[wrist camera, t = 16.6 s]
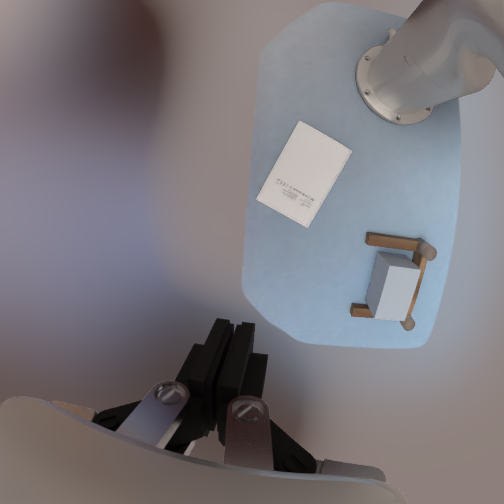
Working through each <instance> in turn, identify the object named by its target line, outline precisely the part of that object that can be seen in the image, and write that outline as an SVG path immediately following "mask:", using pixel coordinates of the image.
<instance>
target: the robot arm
mask: <svg viewBox="0 0 504 504" xmlns="http://www.w3.org/2000/svg"><path fill="white" fill-rule="evenodd" d="M388 34H389V40H388V41H387V42H386V43H385V44H384V45H379V46H375V47H373V48H371V49H369V50H368V51H366V52H365V53H364V54H363V56H362V57H361V58H360V60H359V62H358V64H357V68H356V82H357V87H358V89H359V92H360V94H361V96H362V98H363V100H364V101H365V103H366V104H367V105H368V106H369V108H370V109H371V110H373V111H374V112H375V113H376V114H377V115H379V116H380V117H381V118H383V119H385V120H387V121H389V122H391V123H395V124H398V125H412V124H416V123H419V122H421V121H423V120H424V119H426V118H427V117H428V116H429V115H430V114H431V112H432V110H433V108H434V106H435V105H437V104H440V103H443V102H446V101H449V100H452V99H455V98H459V97H462V96H465V95H468V94H472V93H475V92H478V91H480V90H482V89H483V88H484V87H486V86H487V85H488V84H489V82H490V81H491V79H492V78H493V75H494V73H495V70H496V68H497V69H498V71H499V72H500V73H501V74H502V76H503V77H504V0H423V1H422V2H421V3H420V5H419V6H418V7H417V8H416V10H415V11H414V12H413V13H412V14H411V16H410V17H409V18H408V19H407V21H406V22H405V23H404V24H403V25H402V26H401V28H400V29H399V30H398V31H397V30H396V29H394V28H389V29H388ZM365 59H367V60H368V61H367V60H365ZM365 92H366V93H367V95H366V94H365ZM426 109H427V110H426ZM396 117H397V118H398V120H397V119H396ZM254 332H255V324H254V323H247V322H242V325H237V327H236V329H235V332H234V324H231V323H230V321H229V320H226V319H219V318H217V319H216V321H215V323H214V325H213V327H212V330H211V331H210V333H209V336H208V338H207V340H206V342H205V344H204V345H201V344H194V345H193V347H192V349H191V351H190V353H189V355H188V357H187V359H186V361H185V363H184V364H183V366H182V368H181V370H180V372H179V374H178V376H177V377H176V380H175V381H164V382H161V383H159V384H157V385H155V386H154V387H153V388H152V389H151V391H150V392H149V393H148V394H147V395H146V397H145V398H144V399H143V400H140V401H137V402H133V403H130V404H126V405H123V406H119V407H116V408H111V409H108V410H104V411H102V412H100V413H97V412H96V410H94V409H88V408H85V407H80V406H76V405H72V404H68V403H64V402H61V401H52V402H46V401H43V400H40V399H36V398H31V397H24V396H16V397H12V398H10V399H8V400H6V401H5V402H3V403H2V404H1V405H0V504H409V503H408V500H407V499H406V497H405V495H404V494H403V493H402V491H401V490H399V489H398V488H396V487H395V486H393V485H390V484H388V483H386V478H385V475H384V473H383V472H382V471H381V470H380V469H378V468H376V467H372V466H365V465H357V464H351V463H344V462H339V461H333V460H328V459H324V461H321V460H316V459H314V457H313V456H312V455H311V454H310V453H308V452H307V451H306V450H305V449H304V448H302V447H301V446H300V445H299V444H298V443H297V442H295V441H294V440H293V439H292V438H291V437H289V436H288V435H287V434H286V433H285V432H284V431H283V430H282V429H281V428H279V427H278V426H277V425H276V424H275V423H274V422H273V421H272V420H271V419H270V413H269V407H268V405H267V404H266V402H265V401H263V400H262V394H263V387H264V380H265V373H266V367H267V360H268V355H267V354H259V353H253V342H254ZM216 424H217V431H218V433H219V441H220V442H221V444H222V445H223V446H224V447H225V448H224V449H225V450H224V464H222V463H217V462H212V461H207V460H202V459H198V458H194V457H190V456H188V455H189V454H190V452H191V450H192V448H193V447H194V445H195V442H196V439H199V438H201V437H203V436H208V434H209V431H210V430H211V431H214V430H215V426H216Z"/></svg>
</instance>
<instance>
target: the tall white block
mask: <svg viewBox="0 0 504 504" xmlns="http://www.w3.org/2000/svg"><path fill="white" fill-rule="evenodd" d="M420 272H421V269H420V268H419V267H418V266H417V265H416V264H414V263H413V262H412V261H411V260H410V259H409V258H408V257H407V256H405V255H399V254H392V253H385V252H378V251H377V255H376V259H375V264H374V268H373V272H372V276H371V280H370V284H369V288H368V291H367V295H366V299H365V300H366V302H367V304H368V307H369V309H370V311H371V313H372V315H373V318H374V319H381V320H394V321H405V318H406V315H407V313H408V310H409V307H410V304H411V301H412V298H413V295H414V292H415V289H416V285H417V282H418V279H419V275H420Z"/></svg>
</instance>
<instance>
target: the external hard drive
mask: <svg viewBox="0 0 504 504" xmlns="http://www.w3.org/2000/svg"><path fill="white" fill-rule="evenodd" d="M351 153H352V151H351V150H350V149H348V148H347V147H345V146H344V145H342V144H340V143H339V142H337V141H335V140H334V139H332V138H330V137H329V136H327V135H325V134H323V133H322V132H320V131H318V130H316V129H315V128H313V127H311V126H309V125H307V124H306V123H304V122H302V121H299V122H298V123H297V125H296V127H295V129H294V131H293V132H292V134H291V136H290V138H289V139H288V141H287V143H286V145H285V147H284V148H283V150H282V152H281V154H280V156H279V158H278V159H277V161H276V163H275V165H274V167H273V169H272V170H271V172H270V174H269V176H268V178H267V180H266V181H265V183H264V185H263V187H262V189H261V191H260V193H259V194H258V196H257V198H256V200H258V201H259V202H261V203H263V204H265V205H267V206H269V207H270V208H272V209H274V210H276V211H278V212H280V213H281V214H283V215H285V216H287V217H289V218H290V219H292V220H294V221H296V222H297V223H299V224H301V225H303V226H304V227H306V228H308V227H309V225H310V223H311V222H312V220H313V218H314V217H315V215H316V213H317V212H318V210H319V208H320V207H321V205H322V203H323V202H324V200H325V198H326V196H327V195H328V193H329V191H330V190H331V188H332V186H333V184H334V183H335V181H336V179H337V177H338V176H339V174H340V172H341V170H342V169H343V167H344V165H345V163H346V162H347V160H348V158H349V156H350V154H351Z"/></svg>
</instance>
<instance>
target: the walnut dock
mask: <svg viewBox="0 0 504 504" xmlns="http://www.w3.org/2000/svg"><path fill="white" fill-rule="evenodd" d="M365 243H366V244H367V245H371V246H379V247H386V248H394V249H401V250H409V251H414V255H413V259H412V262H413V263H414V264H416V265H417V266H418V267H419V268H420V269H421V272H420V275H419V279H418V282H417V285H416V289H415V292H414V295H413V298H412V301H411V304H410V307H409V310H408V313H407V315H406V318H405V321H400V323H401V325H402V326H403V328H404V330H406V331H410V330H412V329H413V328H414V326H415V322H414V320H413V318H412V317H411V313H412V310H413V307H414V304H415V301H416V298H417V295H418V291H419V288H420V285H421V281H422V278H423V274H424V270H425V267H426V263H427V260H429V261H431V260H433V259H434V258H435V257H436V254H437V251H436V249H435V248H434V247H433V246H431V245H430V244H428V243H427V242H425V241H424V240H423V239H421V238H418V239H411V238H404V237H398V236H391V235H384V234H377V233H370V232H367V235H366V240H365ZM350 313H351V316H353V317H366V318H373V315H372V313H371V311H370V309H369V307H368V305H365V304H353V303H352V305H351V309H350Z"/></svg>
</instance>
